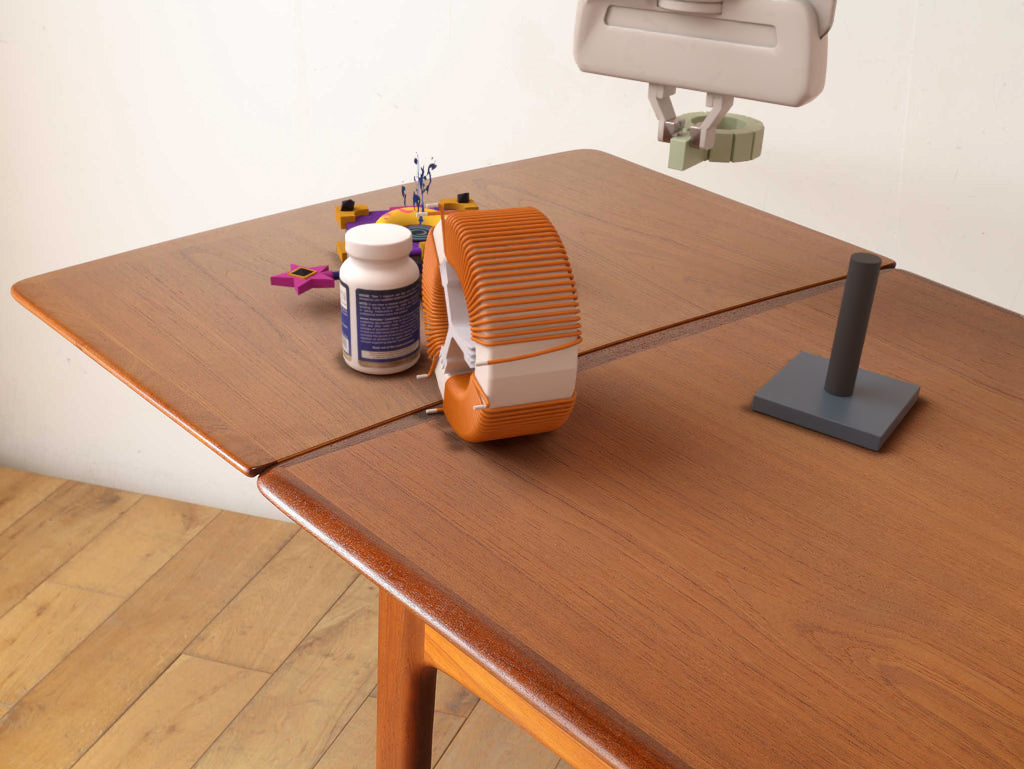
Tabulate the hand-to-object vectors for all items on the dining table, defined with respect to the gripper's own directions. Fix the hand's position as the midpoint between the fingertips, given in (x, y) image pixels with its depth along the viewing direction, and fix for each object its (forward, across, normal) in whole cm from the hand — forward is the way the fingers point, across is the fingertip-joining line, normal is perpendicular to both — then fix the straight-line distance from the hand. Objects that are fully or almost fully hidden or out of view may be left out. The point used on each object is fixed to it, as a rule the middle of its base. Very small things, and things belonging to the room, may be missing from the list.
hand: (685, 144), depth 84 cm
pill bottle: (+13, +11, +24) cm, 30 cm away
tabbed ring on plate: (+2, 0, -4) cm, 4 cm away
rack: (+14, -18, +9) cm, 24 cm away
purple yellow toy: (+13, +20, +10) cm, 26 cm away
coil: (+13, -1, +27) cm, 30 cm away
